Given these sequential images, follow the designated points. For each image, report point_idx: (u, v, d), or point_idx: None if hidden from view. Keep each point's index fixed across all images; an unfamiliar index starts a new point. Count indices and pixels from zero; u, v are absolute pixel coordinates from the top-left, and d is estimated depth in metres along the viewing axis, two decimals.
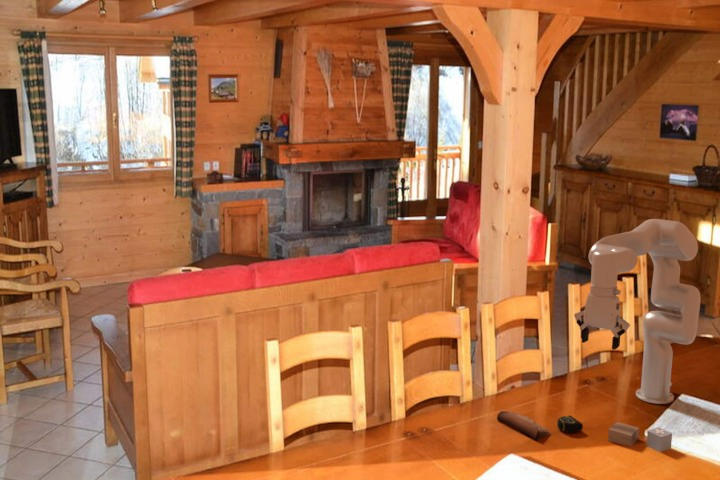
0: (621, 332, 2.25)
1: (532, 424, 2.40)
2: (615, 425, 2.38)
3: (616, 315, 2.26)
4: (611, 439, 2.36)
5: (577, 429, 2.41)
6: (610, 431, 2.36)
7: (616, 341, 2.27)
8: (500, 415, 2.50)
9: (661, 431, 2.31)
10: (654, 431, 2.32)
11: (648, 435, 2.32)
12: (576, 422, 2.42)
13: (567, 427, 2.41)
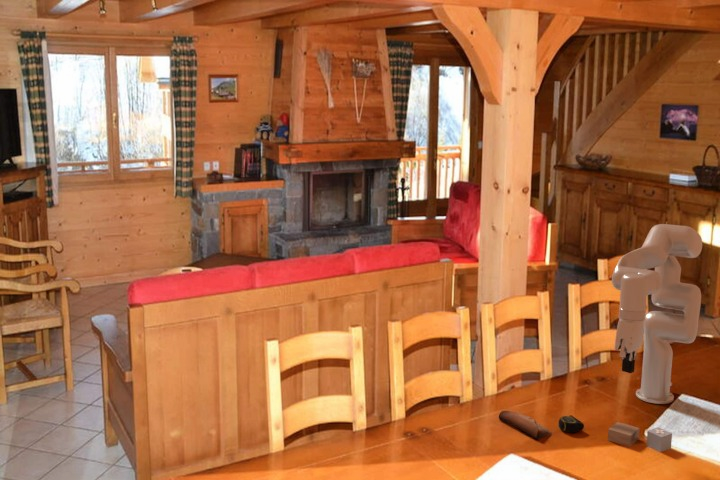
0: None
1: (533, 424, 2.40)
2: (615, 425, 2.38)
3: None
4: (611, 439, 2.36)
5: (578, 429, 2.41)
6: (610, 431, 2.36)
7: None
8: (502, 414, 2.50)
9: (661, 431, 2.31)
10: (654, 431, 2.32)
11: (648, 435, 2.32)
12: (577, 422, 2.42)
13: (568, 427, 2.41)
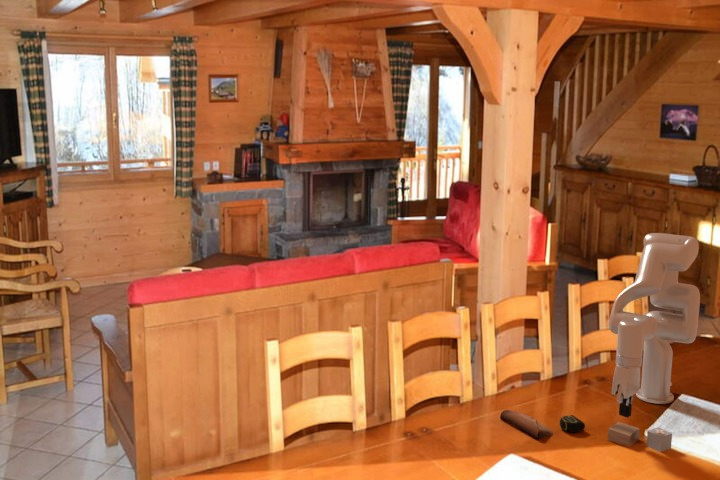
0: None
1: (534, 423, 2.40)
2: (616, 425, 2.38)
3: None
4: (610, 439, 2.36)
5: (579, 428, 2.42)
6: (609, 430, 2.36)
7: None
8: (503, 414, 2.51)
9: (661, 431, 2.31)
10: (654, 431, 2.32)
11: (648, 435, 2.32)
12: (578, 421, 2.42)
13: (569, 427, 2.41)
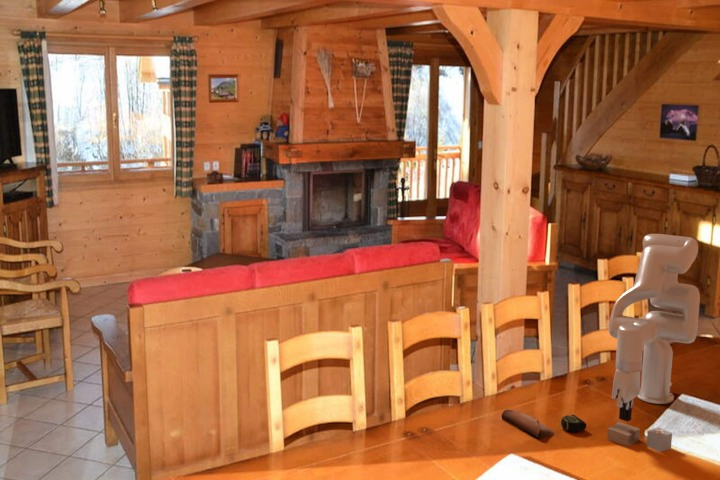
0: None
1: (535, 423, 2.41)
2: (616, 425, 2.39)
3: None
4: (610, 438, 2.37)
5: (581, 428, 2.42)
6: (609, 430, 2.36)
7: None
8: (504, 413, 2.51)
9: (661, 431, 2.31)
10: (654, 431, 2.32)
11: (648, 435, 2.32)
12: (580, 421, 2.42)
13: (570, 426, 2.41)
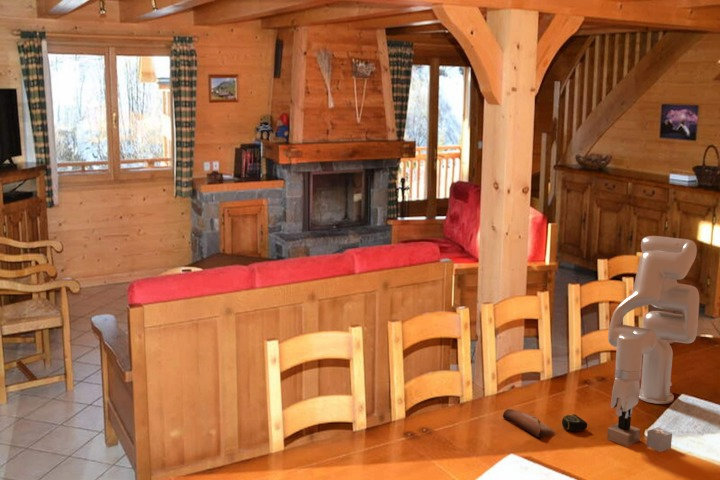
0: None
1: (536, 423, 2.41)
2: (616, 425, 2.39)
3: None
4: (610, 438, 2.37)
5: (582, 428, 2.42)
6: (609, 430, 2.37)
7: None
8: (506, 413, 2.51)
9: (661, 431, 2.31)
10: (654, 431, 2.32)
11: (648, 435, 2.32)
12: (581, 421, 2.43)
13: (571, 426, 2.42)
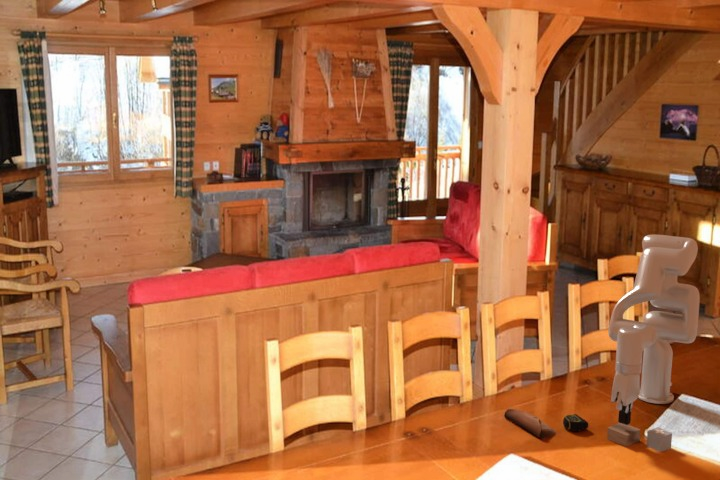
0: None
1: (537, 423, 2.41)
2: (616, 425, 2.39)
3: None
4: (609, 438, 2.37)
5: (583, 428, 2.42)
6: (609, 429, 2.37)
7: None
8: (507, 413, 2.52)
9: (661, 431, 2.31)
10: (654, 431, 2.32)
11: (648, 435, 2.32)
12: (582, 421, 2.43)
13: (573, 426, 2.42)
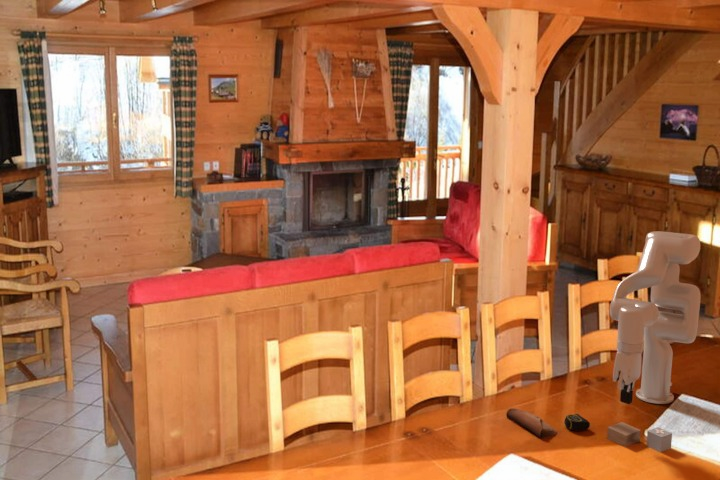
0: None
1: (538, 422, 2.41)
2: (617, 425, 2.39)
3: None
4: (609, 437, 2.37)
5: (584, 427, 2.43)
6: (608, 429, 2.37)
7: None
8: (509, 412, 2.52)
9: (661, 431, 2.31)
10: (654, 431, 2.32)
11: (648, 435, 2.32)
12: (583, 420, 2.43)
13: (574, 425, 2.42)
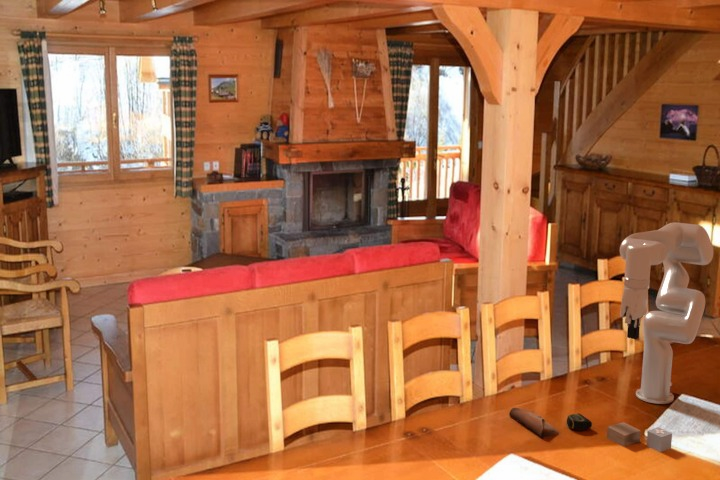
0: None
1: (539, 422, 2.41)
2: (617, 425, 2.39)
3: None
4: (609, 437, 2.38)
5: (586, 427, 2.43)
6: (608, 429, 2.37)
7: None
8: (512, 411, 2.53)
9: (661, 431, 2.31)
10: (654, 431, 2.32)
11: (648, 435, 2.32)
12: (585, 420, 2.43)
13: (576, 425, 2.42)
